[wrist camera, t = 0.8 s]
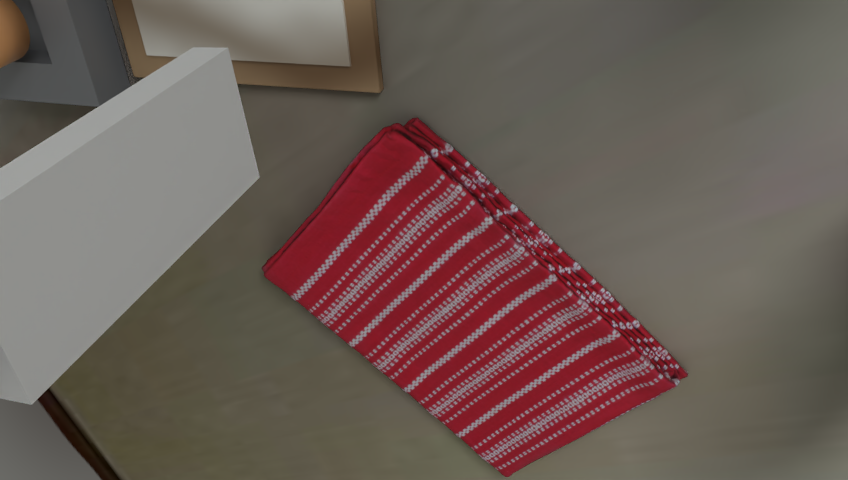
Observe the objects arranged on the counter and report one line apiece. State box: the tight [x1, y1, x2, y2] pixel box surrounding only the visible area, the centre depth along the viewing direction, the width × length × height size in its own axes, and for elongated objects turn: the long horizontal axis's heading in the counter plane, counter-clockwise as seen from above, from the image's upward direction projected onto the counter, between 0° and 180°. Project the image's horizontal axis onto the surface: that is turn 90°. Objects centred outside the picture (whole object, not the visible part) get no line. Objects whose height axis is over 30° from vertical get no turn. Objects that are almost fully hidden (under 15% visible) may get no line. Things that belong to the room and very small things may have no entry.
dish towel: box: [262, 118, 688, 477], centre depth 49 cm, size 17×24×3 cm
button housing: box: [0, 0, 131, 107], centre depth 45 cm, size 10×10×3 cm
